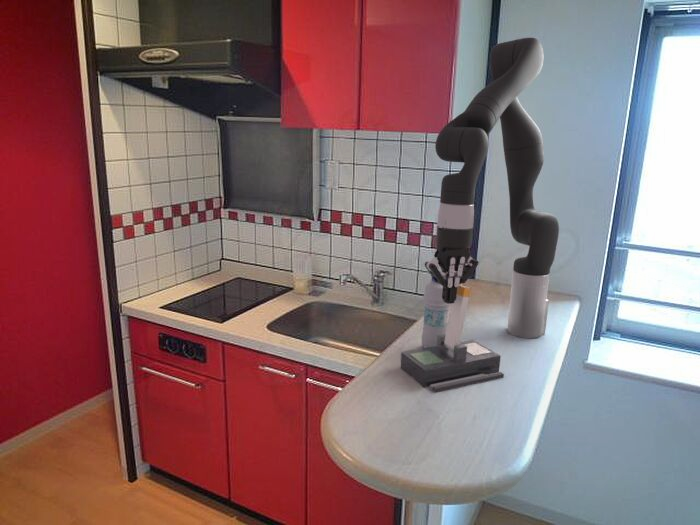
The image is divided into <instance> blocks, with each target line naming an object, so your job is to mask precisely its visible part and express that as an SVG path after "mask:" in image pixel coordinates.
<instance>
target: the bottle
mask: <svg viewBox="0 0 700 525" xmlns="http://www.w3.org/2000/svg"><path fill="white" fill-rule="evenodd" d="M439 272H440V270H439ZM442 291H443V286H442V285H441V284H439V283H436V282H435V281H434V279H433V278H432V277H431V281H428V282H427V283H426V284H425V287H424V291H423V292H424V293H423V303H424V311H423V312H424V313H423V326H422V334H421V344H422V347H423V348H428V347H434V346H437V335H442V334H446V330H447V325H448V319H449V314H450V306H451V304H447V303H445V302H444V301H443V299H442Z"/></svg>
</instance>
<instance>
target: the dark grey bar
mask: <svg viewBox="0 0 700 525" xmlns="http://www.w3.org/2000/svg"><path fill="white" fill-rule="evenodd" d="M504 376H505V373H503V372H500V371H499V372H497V373H492V374H487V375H485V374H479V375H474V376H470V377H465V378H460V379H455V380H450V381H446V382H441V383H436V384H431V385H430V387H429V389H431V391H432V392H434V393H440V392H444V391H448V390H453V389H454V390H455V389H458V388H462V387H467V386H471V385H476V384H481V383H485V382H486V383H487V382H490V381H495V380H500V379H503V378H504Z"/></svg>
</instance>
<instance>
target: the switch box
mask: <svg viewBox="0 0 700 525" xmlns="http://www.w3.org/2000/svg"><path fill="white" fill-rule="evenodd" d="M445 336H446V334H442V335H437V346H434V347H428V348H425V347H423V348H418V349H417V348H416V349H412V350H411V349H410V350H407V351H402V352H401V353H400V369H401V370H402V371H403V372H404V373H405V374H407V375H408V376H409V377H410V378H412V379H413V380H414V381H415V382H416V383H418V384H419V385H420V386H421V387H423V388H424V389H426V388H430V385H431V384H436V383H441V382H446V381H450V380H455V379H460V378H465V377H470V376H474V375H479V374H485V375H490V374H495V373H499V372H500V367H501V355H500V354H498V353H497V352H495V351H493V350H492V349H490V348H488V347H486V346H485V345H484V344H481V343H480V342H478V341H477V340H475V339H469V340H464V341H461V343H460V345H456V346H454V352H452V351H451V350H449V349H448V348H446V347H445V346H444V342H445Z"/></svg>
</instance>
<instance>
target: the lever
mask: <svg viewBox="0 0 700 525" xmlns="http://www.w3.org/2000/svg"><path fill="white" fill-rule="evenodd" d="M470 294H471V287H469V286H466V285H464V284H463V283H461V284H459V286H458V287H457V295H456V300H455V302H454V303H451V304H450V307H449V313H448V325H447V330H446V336H445V342H444V346H445V347H446V348H448V349H449V350H451V351H452V352H454V346H456V345H460V343H461V342H462V336H463V330H464V326H465V321H466V320H465V319H466V314H467V310H468V303H469V299H470Z"/></svg>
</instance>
